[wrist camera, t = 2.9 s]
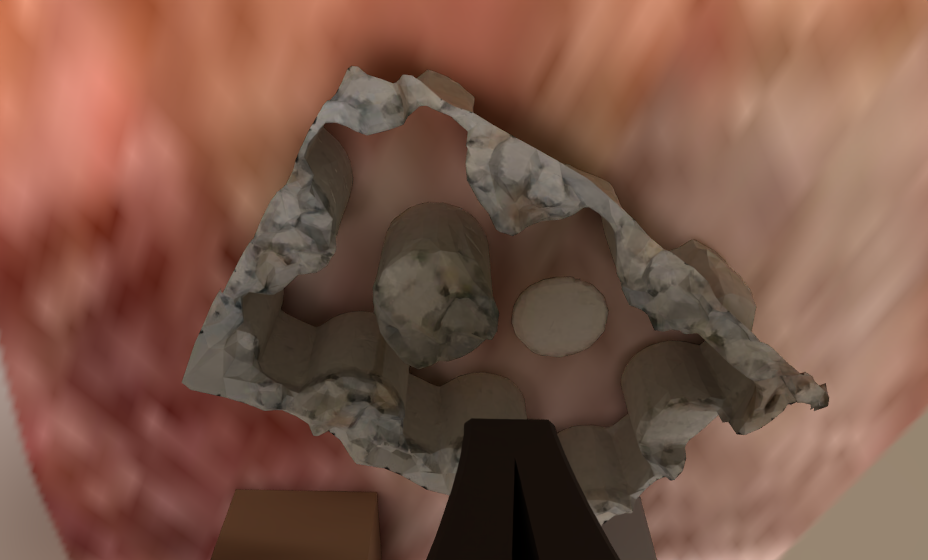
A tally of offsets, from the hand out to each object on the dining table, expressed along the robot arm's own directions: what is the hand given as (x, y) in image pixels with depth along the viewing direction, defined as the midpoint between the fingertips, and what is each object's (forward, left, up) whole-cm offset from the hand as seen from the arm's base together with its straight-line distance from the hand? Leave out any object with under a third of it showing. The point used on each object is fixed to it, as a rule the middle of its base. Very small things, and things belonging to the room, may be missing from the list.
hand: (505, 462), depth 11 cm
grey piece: (0, 0, -6) cm, 6 cm away
